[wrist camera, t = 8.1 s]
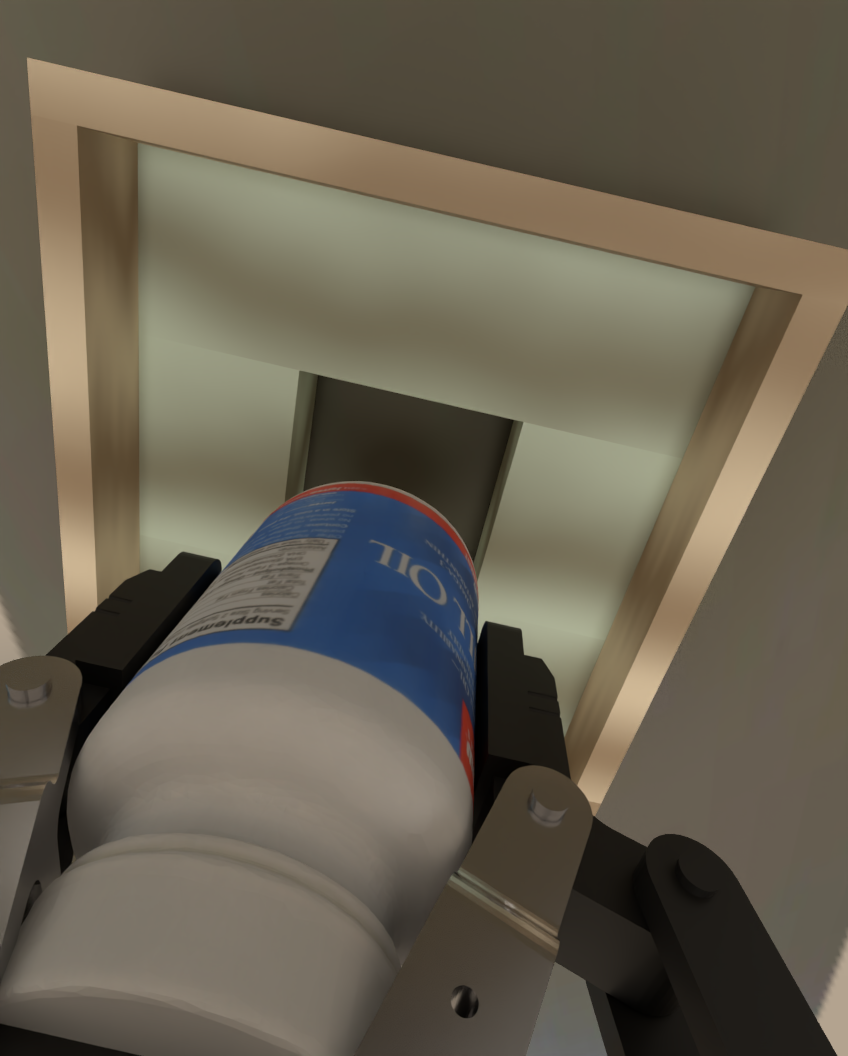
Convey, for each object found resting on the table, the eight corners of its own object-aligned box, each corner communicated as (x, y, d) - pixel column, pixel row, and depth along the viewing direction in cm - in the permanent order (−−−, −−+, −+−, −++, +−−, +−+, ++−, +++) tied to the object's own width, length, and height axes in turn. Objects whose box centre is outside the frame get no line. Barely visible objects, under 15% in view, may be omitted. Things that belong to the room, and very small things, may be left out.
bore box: (148, 106, 17) (26, 57, 12) (769, 251, 17) (872, 255, 13) (147, 622, 25) (73, 707, 20) (571, 718, 25) (591, 823, 20)
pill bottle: (514, 633, 14) (562, 1240, 6) (323, 695, 16) (124, 1258, 7) (417, 431, 12) (259, 881, 4) (208, 521, 14) (-264, 1004, 5)
